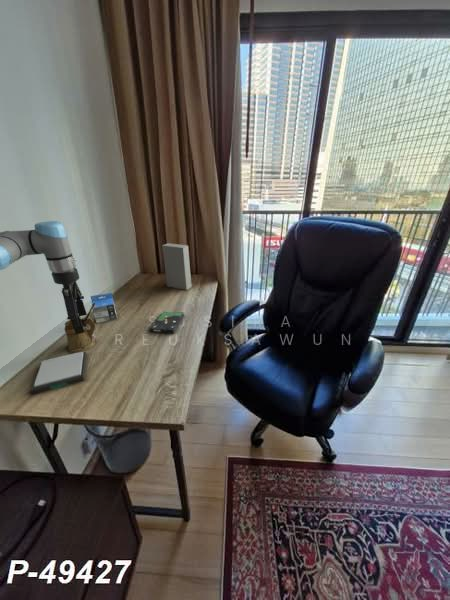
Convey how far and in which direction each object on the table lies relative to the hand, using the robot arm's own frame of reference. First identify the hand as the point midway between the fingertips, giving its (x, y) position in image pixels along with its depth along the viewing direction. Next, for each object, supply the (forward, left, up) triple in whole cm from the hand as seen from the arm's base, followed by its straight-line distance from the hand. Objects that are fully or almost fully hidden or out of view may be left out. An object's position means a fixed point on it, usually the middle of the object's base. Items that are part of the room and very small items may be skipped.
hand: (81, 323), depth 93 cm
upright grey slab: (+47, +41, -10) cm, 63 cm away
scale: (-7, -14, -10) cm, 19 cm away
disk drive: (+32, +2, -10) cm, 34 cm away
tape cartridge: (+7, +18, -10) cm, 22 cm away
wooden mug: (0, 0, -10) cm, 10 cm away
